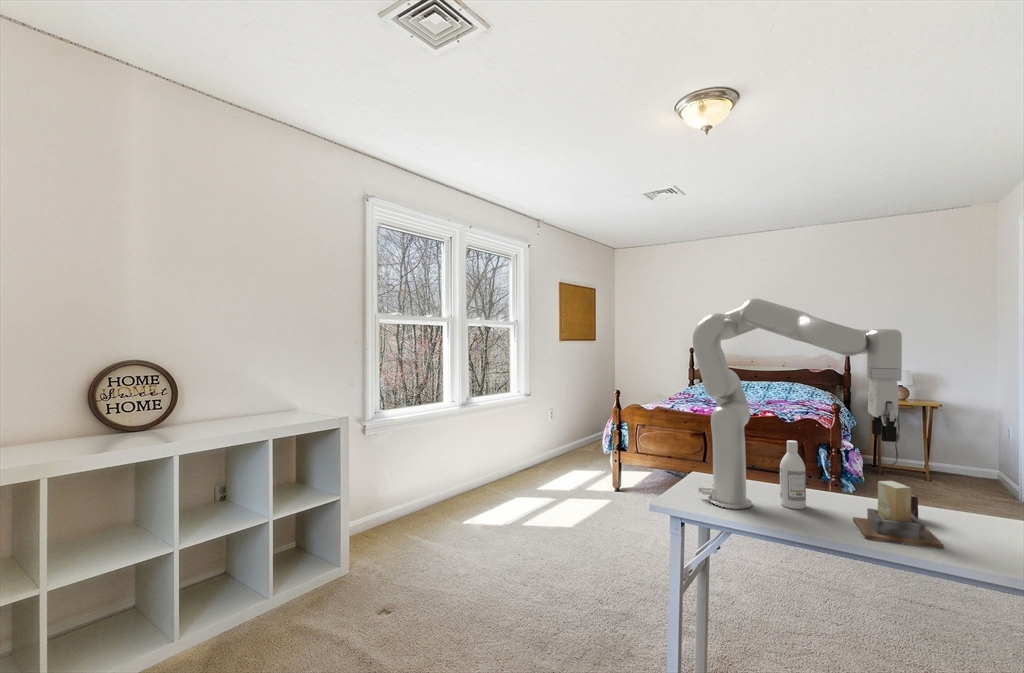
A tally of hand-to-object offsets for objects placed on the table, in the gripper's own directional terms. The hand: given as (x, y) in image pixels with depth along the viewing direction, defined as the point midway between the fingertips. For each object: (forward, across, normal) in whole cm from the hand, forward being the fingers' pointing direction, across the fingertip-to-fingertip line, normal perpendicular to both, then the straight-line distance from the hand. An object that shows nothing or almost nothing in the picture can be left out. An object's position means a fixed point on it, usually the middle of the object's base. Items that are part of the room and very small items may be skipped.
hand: (883, 437), depth 135 cm
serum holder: (+25, +3, +2) cm, 25 cm away
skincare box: (+24, +3, +2) cm, 24 cm away
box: (+25, -11, +7) cm, 28 cm away
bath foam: (+25, -12, -20) cm, 35 cm away
